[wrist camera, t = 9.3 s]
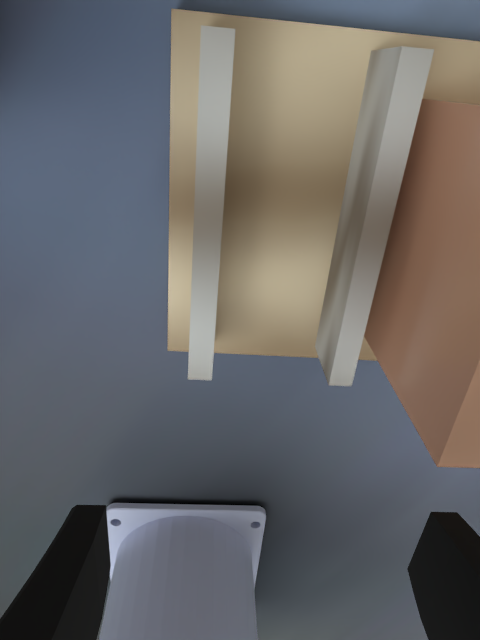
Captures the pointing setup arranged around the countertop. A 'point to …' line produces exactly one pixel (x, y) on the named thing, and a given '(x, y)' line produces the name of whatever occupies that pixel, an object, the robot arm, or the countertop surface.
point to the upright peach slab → (435, 285)
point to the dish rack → (290, 179)
